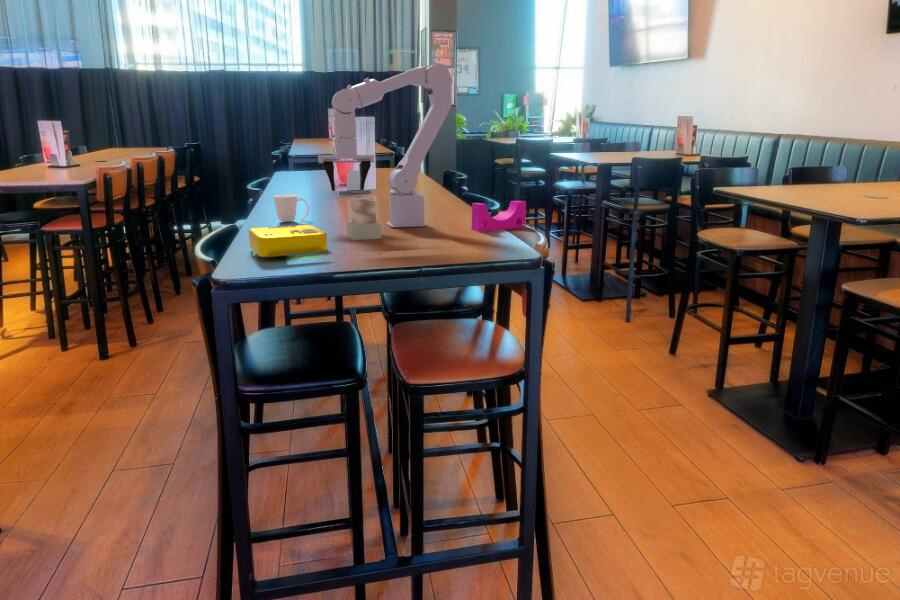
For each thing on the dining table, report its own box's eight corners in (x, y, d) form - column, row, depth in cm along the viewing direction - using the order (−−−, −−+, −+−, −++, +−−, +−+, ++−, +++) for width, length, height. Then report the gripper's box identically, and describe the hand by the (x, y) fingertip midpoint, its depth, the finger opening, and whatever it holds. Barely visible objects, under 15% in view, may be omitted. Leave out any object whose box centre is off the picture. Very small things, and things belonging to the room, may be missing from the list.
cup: (271, 223, 177) (269, 195, 174) (304, 221, 182) (303, 193, 180) (279, 226, 171) (277, 197, 169) (313, 223, 176) (311, 195, 174)
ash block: (368, 220, 155) (367, 199, 154) (375, 222, 152) (375, 200, 150) (351, 222, 153) (350, 199, 151) (359, 224, 149) (358, 201, 148)
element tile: (312, 242, 148) (311, 222, 147) (329, 252, 135) (328, 231, 134) (248, 246, 142) (247, 226, 140) (260, 258, 129) (258, 235, 127)
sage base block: (374, 235, 158) (373, 219, 157) (381, 239, 152) (380, 223, 151) (347, 236, 156) (346, 221, 155) (353, 241, 149) (353, 224, 148)
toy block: (512, 226, 174) (513, 199, 172) (525, 229, 169) (526, 201, 167) (466, 229, 167) (467, 202, 165) (478, 232, 162) (479, 204, 160)
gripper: (370, 138, 166) (372, 188, 170) (316, 138, 162) (319, 189, 166) (374, 138, 160) (376, 190, 163) (318, 138, 156) (321, 191, 159)
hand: (347, 190), depth 164 cm, fingers open, 7 cm apart
